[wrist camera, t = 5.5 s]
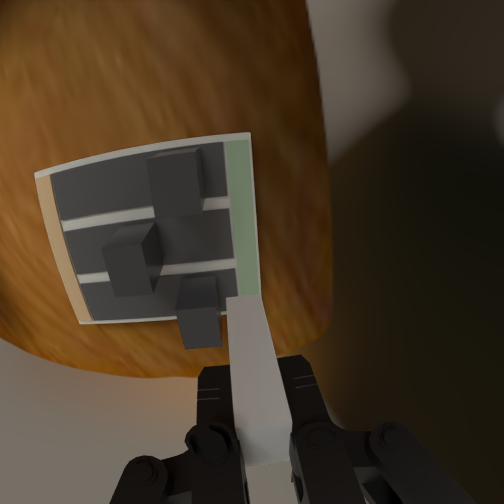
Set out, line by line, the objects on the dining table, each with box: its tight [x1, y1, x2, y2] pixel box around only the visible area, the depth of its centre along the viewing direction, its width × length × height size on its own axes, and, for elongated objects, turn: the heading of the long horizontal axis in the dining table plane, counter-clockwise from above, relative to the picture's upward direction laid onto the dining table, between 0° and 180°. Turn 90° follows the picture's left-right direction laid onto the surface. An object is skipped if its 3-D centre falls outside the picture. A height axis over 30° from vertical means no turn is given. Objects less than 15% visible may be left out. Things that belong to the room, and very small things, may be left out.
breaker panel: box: [34, 132, 262, 324], centre depth 23 cm, size 18×15×2 cm
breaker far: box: [175, 275, 222, 349], centre depth 22 cm, size 3×4×4 cm
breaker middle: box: [101, 222, 163, 298], centre depth 19 cm, size 3×4×4 cm
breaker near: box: [146, 147, 205, 220], centre depth 18 cm, size 3×4×4 cm
